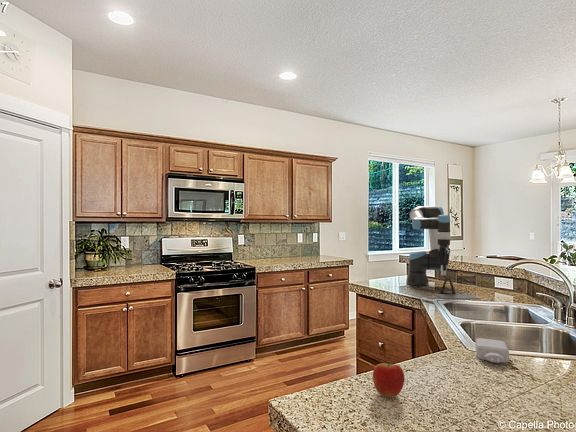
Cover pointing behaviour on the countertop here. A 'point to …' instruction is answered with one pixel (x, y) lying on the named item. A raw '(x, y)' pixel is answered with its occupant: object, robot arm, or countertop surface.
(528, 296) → the countertop surface
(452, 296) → the mat
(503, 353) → the charger
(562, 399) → the countertop surface
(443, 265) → the robot arm
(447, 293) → the phone stand
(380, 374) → the apple
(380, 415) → the countertop surface
